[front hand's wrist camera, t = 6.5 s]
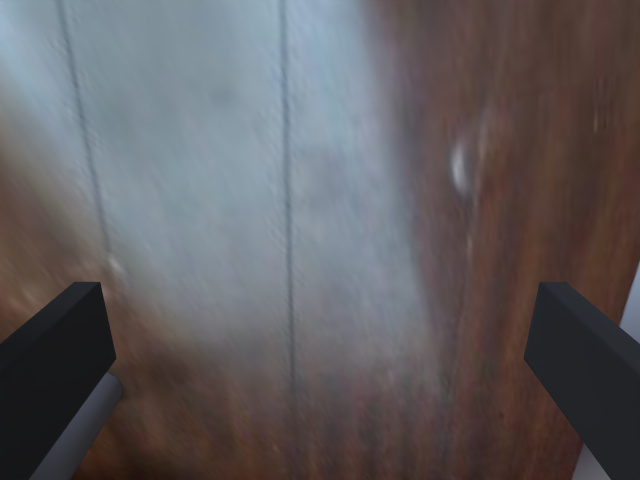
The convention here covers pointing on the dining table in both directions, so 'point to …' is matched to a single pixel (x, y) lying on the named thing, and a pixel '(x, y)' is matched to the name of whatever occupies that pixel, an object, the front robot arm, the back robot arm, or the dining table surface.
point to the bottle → (80, 432)
